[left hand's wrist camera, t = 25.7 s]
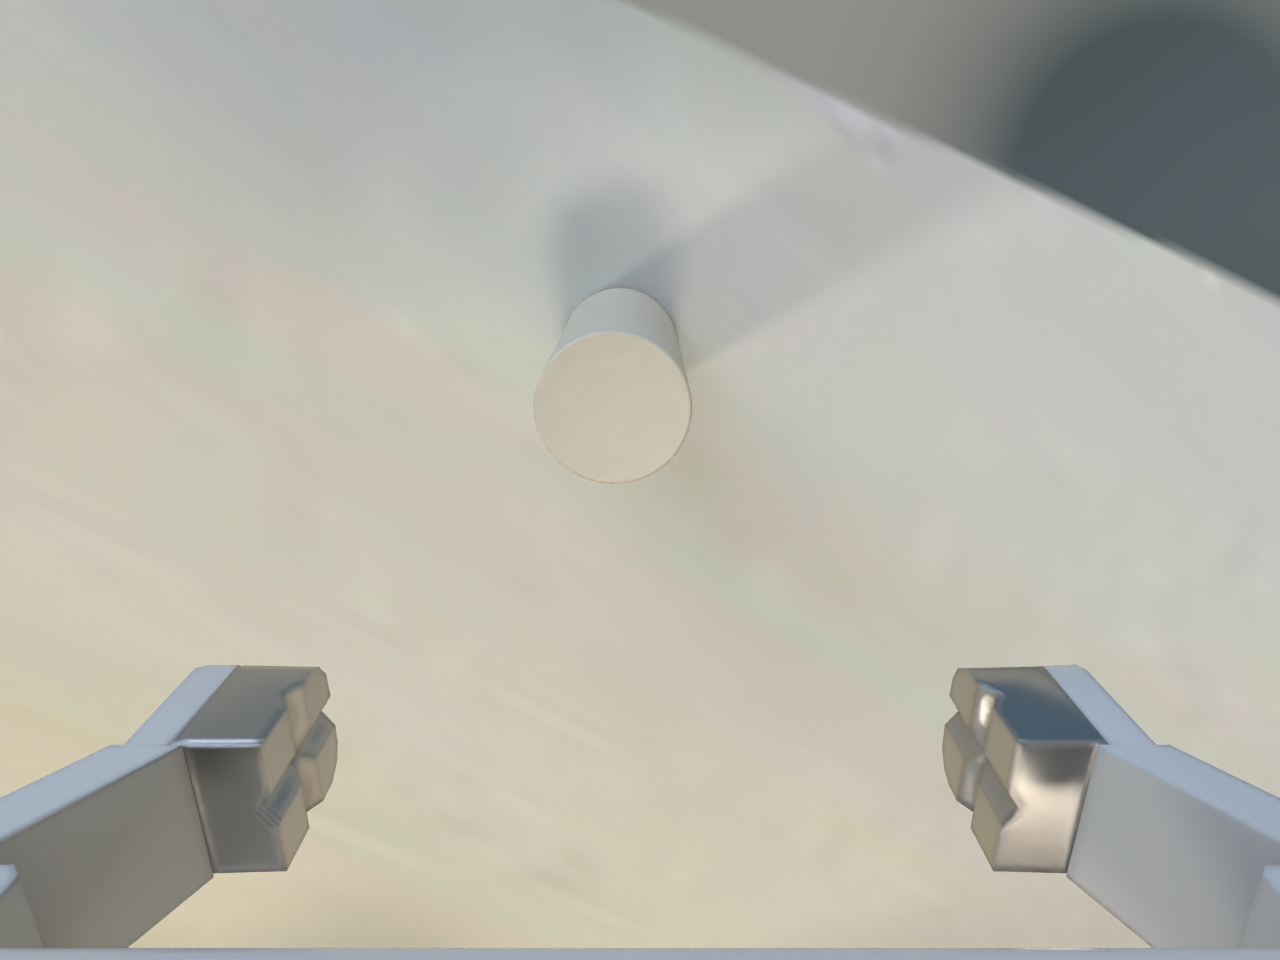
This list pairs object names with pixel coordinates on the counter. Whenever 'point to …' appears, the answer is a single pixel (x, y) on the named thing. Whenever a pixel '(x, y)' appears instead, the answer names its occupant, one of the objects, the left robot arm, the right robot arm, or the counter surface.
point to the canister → (614, 390)
